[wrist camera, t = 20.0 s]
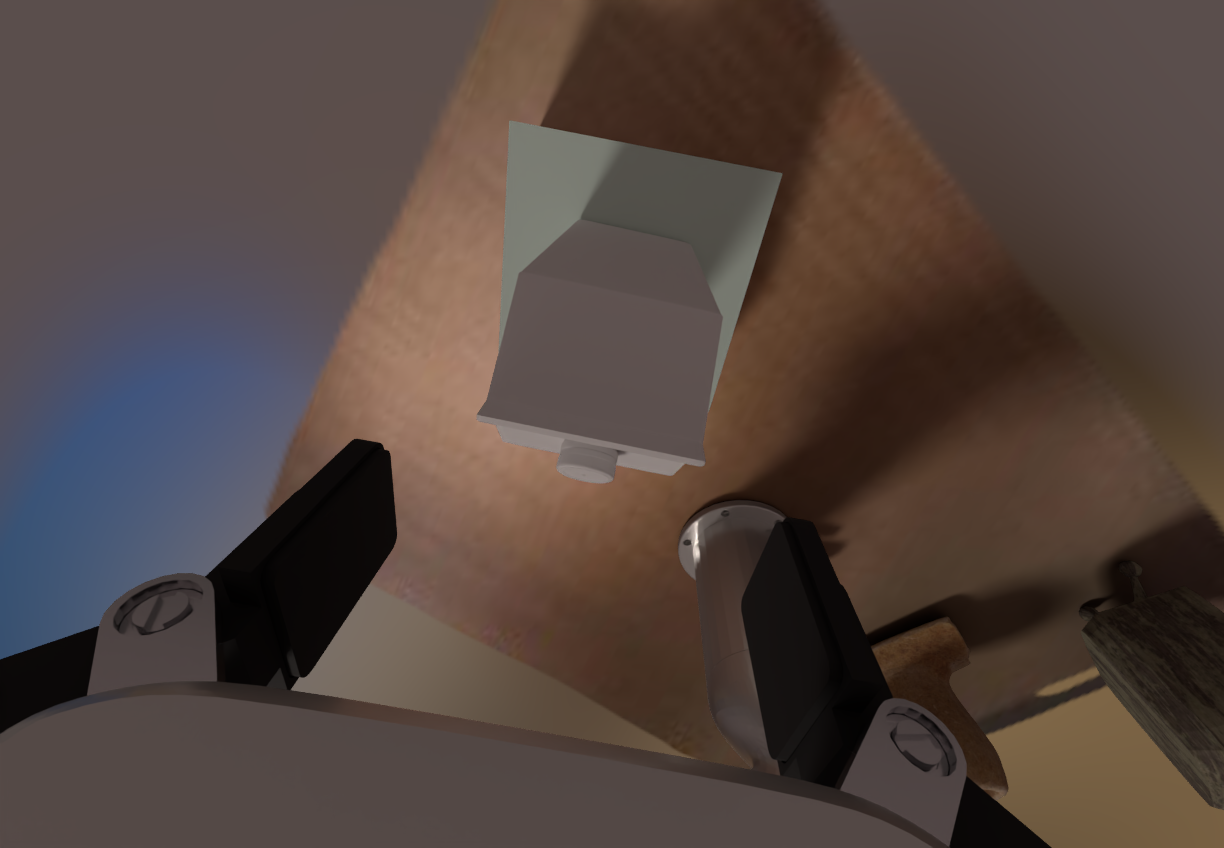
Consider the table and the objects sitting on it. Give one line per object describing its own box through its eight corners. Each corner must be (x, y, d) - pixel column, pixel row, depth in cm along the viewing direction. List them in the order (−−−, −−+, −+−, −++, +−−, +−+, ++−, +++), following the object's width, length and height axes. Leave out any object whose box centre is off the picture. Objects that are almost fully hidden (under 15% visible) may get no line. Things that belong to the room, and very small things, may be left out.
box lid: (780, 173, 27) (782, 173, 27) (707, 407, 35) (708, 411, 35) (512, 120, 27) (509, 120, 27) (499, 369, 35) (497, 373, 34)
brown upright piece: (870, 696, 63) (926, 836, 50) (820, 653, 60) (867, 792, 47) (985, 652, 57) (1083, 799, 44) (938, 601, 54) (1030, 745, 41)
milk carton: (578, 217, 29) (482, 302, 12) (691, 242, 29) (743, 358, 13) (562, 327, 32) (471, 506, 16) (663, 349, 33) (675, 547, 16)
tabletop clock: (1166, 623, 53) (1522, 951, 31) (1073, 649, 56) (1339, 963, 34) (1139, 543, 47) (1544, 871, 26) (1039, 578, 51) (1326, 894, 29)
